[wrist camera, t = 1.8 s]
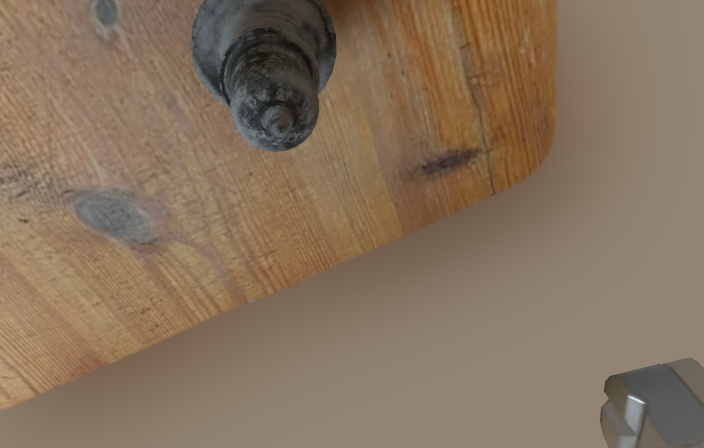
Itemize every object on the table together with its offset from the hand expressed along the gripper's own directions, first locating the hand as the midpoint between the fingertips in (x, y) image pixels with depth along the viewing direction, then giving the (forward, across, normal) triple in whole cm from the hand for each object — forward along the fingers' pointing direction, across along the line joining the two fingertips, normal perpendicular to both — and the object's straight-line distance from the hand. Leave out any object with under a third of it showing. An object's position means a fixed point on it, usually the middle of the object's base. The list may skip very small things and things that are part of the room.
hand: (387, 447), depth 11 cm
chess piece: (+22, +1, -2) cm, 22 cm away
